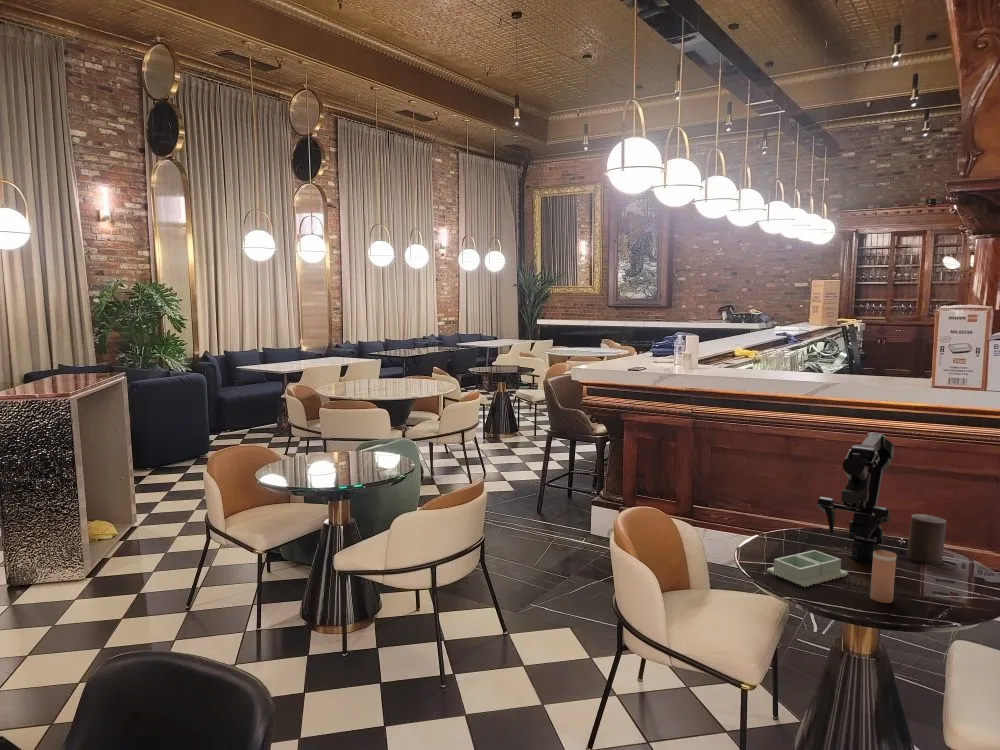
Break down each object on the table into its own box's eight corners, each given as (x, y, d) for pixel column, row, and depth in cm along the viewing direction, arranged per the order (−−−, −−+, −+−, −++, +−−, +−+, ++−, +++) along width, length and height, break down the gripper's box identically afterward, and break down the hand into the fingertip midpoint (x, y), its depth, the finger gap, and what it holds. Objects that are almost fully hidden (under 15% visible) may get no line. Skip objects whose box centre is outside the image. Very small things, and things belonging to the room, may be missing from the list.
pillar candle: (915, 563, 219) (920, 517, 217) (901, 553, 228) (906, 508, 227) (948, 566, 217) (953, 520, 216) (933, 555, 227) (937, 511, 226)
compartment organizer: (809, 561, 218) (810, 547, 218) (848, 575, 207) (849, 560, 207) (767, 571, 209) (767, 557, 208) (804, 587, 197) (805, 571, 197)
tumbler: (881, 594, 194) (885, 549, 193) (897, 602, 188) (901, 556, 187) (865, 595, 192) (868, 550, 191) (880, 603, 187) (884, 557, 186)
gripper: (818, 472, 205) (808, 522, 200) (889, 483, 193) (880, 537, 188) (825, 484, 213) (816, 533, 208) (894, 495, 201) (885, 547, 196)
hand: (848, 537), depth 200 cm, fingers open, 9 cm apart
